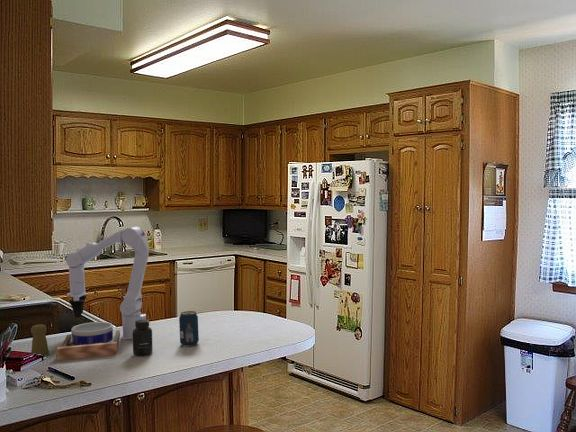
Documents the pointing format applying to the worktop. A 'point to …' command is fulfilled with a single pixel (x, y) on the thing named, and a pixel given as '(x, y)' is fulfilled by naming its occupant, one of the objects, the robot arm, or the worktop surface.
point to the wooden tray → (87, 349)
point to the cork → (39, 340)
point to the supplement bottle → (142, 338)
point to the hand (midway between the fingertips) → (78, 315)
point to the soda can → (188, 328)
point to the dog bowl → (92, 333)
